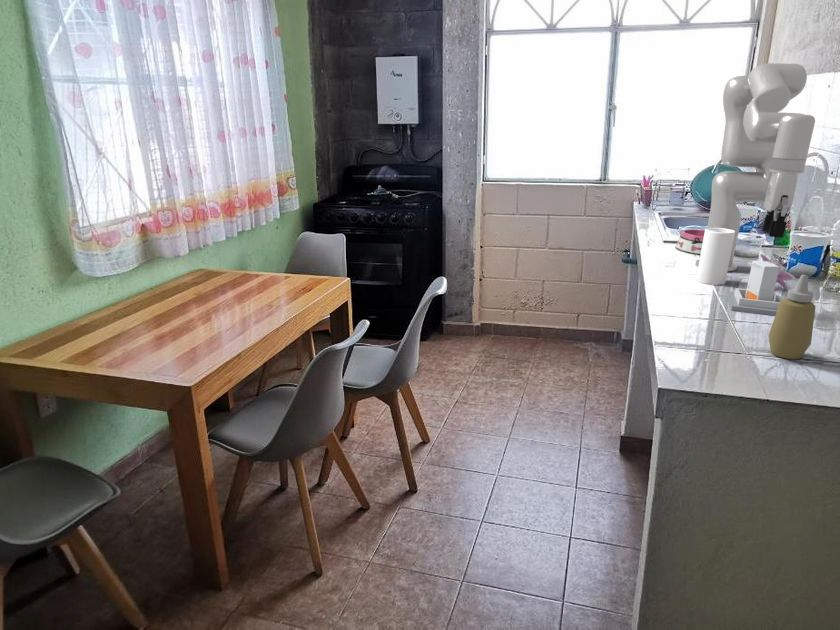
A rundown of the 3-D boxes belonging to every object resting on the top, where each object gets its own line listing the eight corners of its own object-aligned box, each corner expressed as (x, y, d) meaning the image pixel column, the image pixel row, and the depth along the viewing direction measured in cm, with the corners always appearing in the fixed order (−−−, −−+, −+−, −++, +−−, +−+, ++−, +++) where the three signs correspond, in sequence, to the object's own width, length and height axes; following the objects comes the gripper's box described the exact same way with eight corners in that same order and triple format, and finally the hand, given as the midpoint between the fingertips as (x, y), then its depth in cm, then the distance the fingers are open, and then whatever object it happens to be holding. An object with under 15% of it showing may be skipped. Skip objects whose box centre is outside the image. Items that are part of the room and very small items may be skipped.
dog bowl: (730, 249, 231) (734, 232, 229) (725, 259, 216) (729, 240, 214) (679, 243, 240) (682, 226, 238) (671, 252, 225) (674, 233, 223)
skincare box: (742, 302, 167) (751, 260, 163) (757, 302, 168) (767, 260, 164) (755, 309, 162) (764, 266, 158) (770, 310, 162) (780, 266, 158)
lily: (792, 300, 174) (808, 270, 174) (755, 281, 175) (771, 252, 175) (771, 300, 186) (786, 272, 186) (736, 283, 187) (751, 255, 187)
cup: (719, 278, 191) (729, 228, 186) (729, 285, 183) (739, 233, 178) (692, 277, 192) (701, 226, 186) (701, 284, 184) (710, 232, 179)
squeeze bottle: (756, 347, 136) (774, 270, 130) (790, 347, 137) (809, 270, 131) (779, 362, 128) (799, 280, 122) (815, 362, 129) (837, 280, 123)
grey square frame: (725, 295, 173) (727, 285, 172) (781, 302, 169) (783, 291, 168) (731, 310, 161) (733, 299, 160) (790, 317, 156) (793, 306, 155)
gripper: (765, 162, 161) (752, 226, 167) (776, 168, 146) (761, 238, 152) (797, 163, 159) (782, 228, 165) (812, 170, 143) (795, 241, 149)
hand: (772, 233), depth 158 cm, fingers open, 9 cm apart
